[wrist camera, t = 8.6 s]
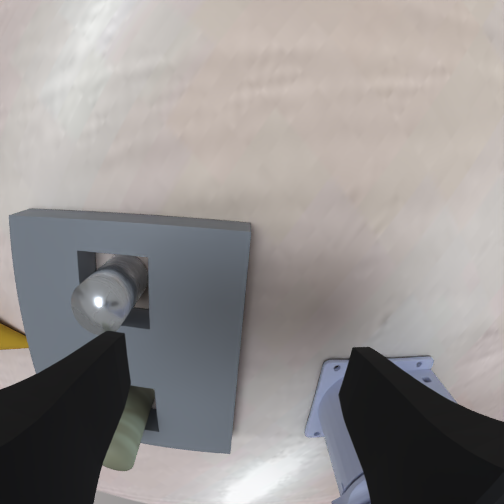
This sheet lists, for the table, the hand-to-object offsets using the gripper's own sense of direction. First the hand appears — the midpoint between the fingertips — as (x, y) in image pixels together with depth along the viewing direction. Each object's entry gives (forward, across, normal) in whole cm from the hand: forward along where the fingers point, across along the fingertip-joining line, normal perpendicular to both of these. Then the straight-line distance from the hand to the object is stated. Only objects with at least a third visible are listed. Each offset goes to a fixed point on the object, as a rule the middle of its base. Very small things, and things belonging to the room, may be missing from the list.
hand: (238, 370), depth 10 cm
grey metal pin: (+10, +7, +2) cm, 13 cm away
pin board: (+10, +7, +6) cm, 14 cm away
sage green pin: (+10, +7, +11) cm, 17 cm away
